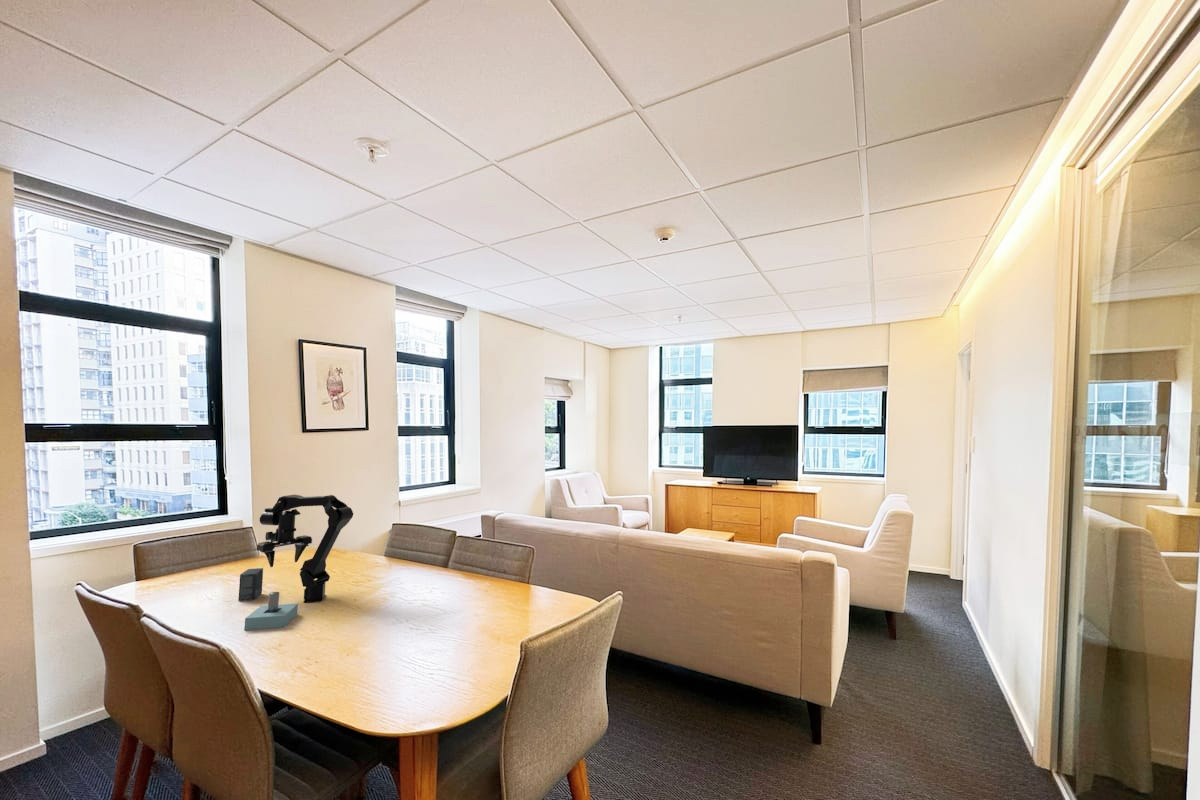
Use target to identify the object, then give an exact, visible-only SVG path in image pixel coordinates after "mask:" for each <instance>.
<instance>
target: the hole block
mask: <svg viewBox="0 0 1200 800" xmlns="http://www.w3.org/2000/svg"><path fill="white" fill-rule="evenodd" d="M298 606H299V603H286V604H285V603H283V604H282V603H281V604H278V612H275V613H268V604H266V605H260V606H259V607H258V608H256V609H255V610H254V611H252V612H251V613H250V614H249V615H247V616H246V617H245V618H244V628H243V629H244V631H251V630H252V631H253V630H255V631H256V630H267V629H279V628H282V629H283V628H286V626H288V625H289V624H290V622H291V621H292V620H293V619H294V618H295V617H297V616H298V609H299V607H298Z"/></svg>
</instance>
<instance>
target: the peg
mask: <svg viewBox="0 0 1200 800" xmlns="http://www.w3.org/2000/svg"><path fill="white" fill-rule="evenodd" d="M279 598H280V591H273V592H270V593H269V594H268V604H267V605H268V613H275V612H278V605H279Z"/></svg>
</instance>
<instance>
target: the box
mask: <svg viewBox="0 0 1200 800" xmlns="http://www.w3.org/2000/svg"><path fill="white" fill-rule="evenodd" d="M263 576H264V568H263V567H261V568H258V567H257V568H248V569H246V570H245V571H243V572H242V573H240V574H239V588H238V602H243V600H247V601H255V600H256V599H257V598H258V597H259V596H261V595H262V594H261V593H263V579H264V578H263ZM254 599H255V600H254Z"/></svg>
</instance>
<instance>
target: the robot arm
mask: <svg viewBox="0 0 1200 800" xmlns="http://www.w3.org/2000/svg"><path fill="white" fill-rule="evenodd" d="M321 506H322V507H323V509H324V513H325V514H326V515H327V516H328V519H327V529H326V530H325V533H324V534H323V537H322V539H321V540H320V543H319V544H318V546H317V548H316V550H315V552H314V554H313V556H312V558H310V559H307V560H304V562H303V564H302V567H301V568H299V571H300V573H299V576H300V581H301V584H302V587H304V589H303V591H304V592H303V602H302V603H314V602H315V601H319V602H322V601H324V600H325V598H326V597H327V594H326V585H327V584H326V582H329V580H330V578H331V576H330V574H329V573H328V571H326V568H327V562H326V560H327V558H328V557H329V555H330V552H331V551H332V549H333V546H334V545H335V543H336V541H337V539H338V536H339V535H340V533H341V530H342V529H344V527H345V526H347V524H349V523H350V521H351V520H352V518H353V516H354V512H353V510H352V508H351V507H349V506H348V505H347V504H346V503H345V502H343V501H341V499H338V498H337V496H335V495H333V494H329V495H317V496H315V495H313V496H302V495H299V494H290V495H283V496H280V497H278V499H277V501H276V502H275V504H274V505H273V507H272V508H271V507H267V508H264V511H263V512H262V513H261V514H260V517H259V523H260V524H261V525H262V526H277V528H276V529H275V532H273V531H266V532H265V541H262V542H258V543H257V545H256V551H260V553H264V554H265V557H266V559H267V562H268V564H269V567H270V568H273V567H274V563H275V553H276V550H274V549H275V548H279V547H284V546H290V545H294V547H295V551H294V563H297V562H298V561H299V559H300V557H301V555H302V554H303V552H304V551H305V550H306V548H307V547H309V545H310V544H312V543H313V538H312V536H309V535H299V536H296V537H295V531H297V528H296V526H295V524H296V516H299V515H301V512H300V511H298V509H297V508H300V507H321ZM315 603H316V602H315Z"/></svg>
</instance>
